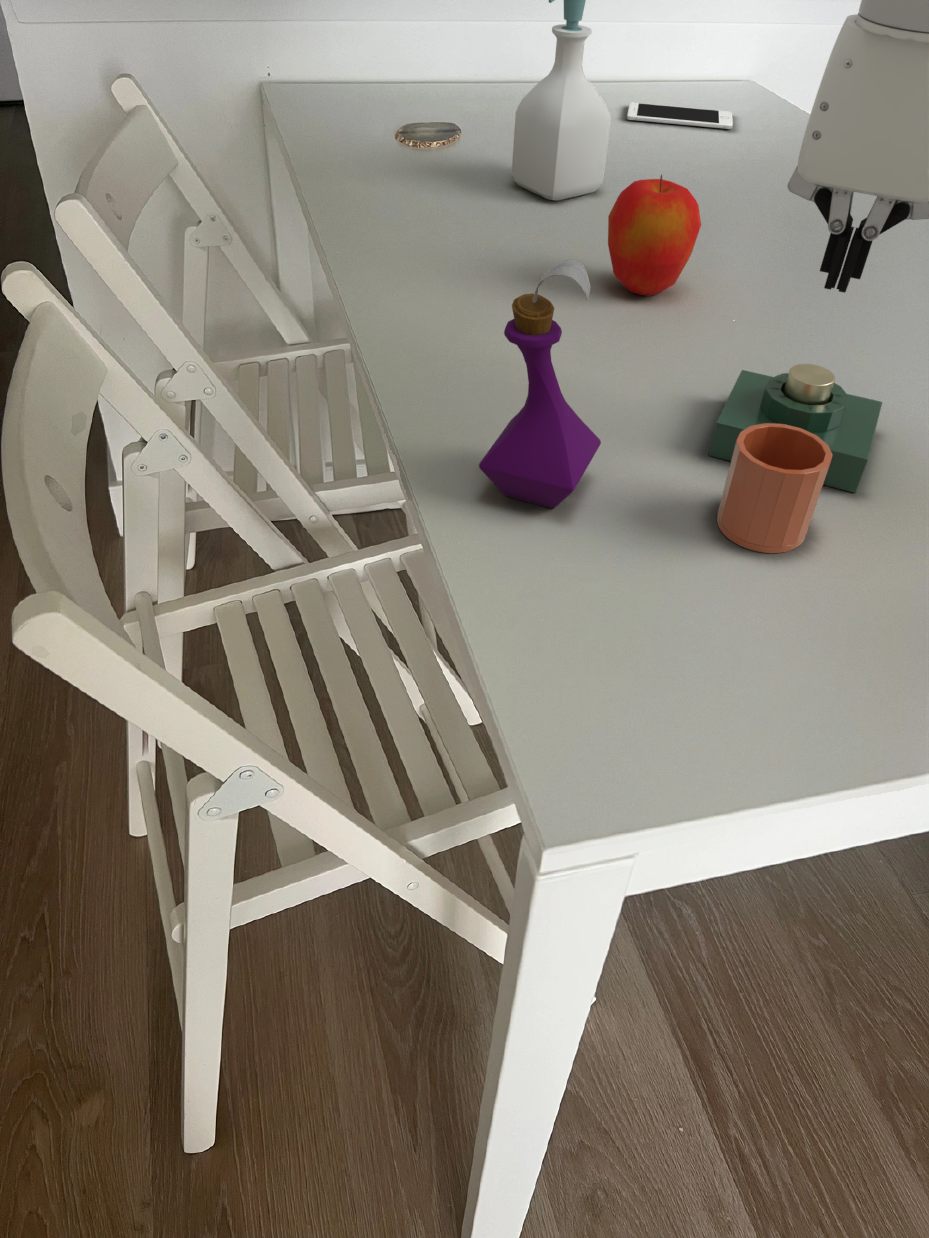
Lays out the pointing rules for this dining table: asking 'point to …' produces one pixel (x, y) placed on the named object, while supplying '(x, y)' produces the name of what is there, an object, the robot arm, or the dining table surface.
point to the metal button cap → (809, 384)
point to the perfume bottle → (541, 411)
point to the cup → (772, 487)
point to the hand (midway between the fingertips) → (837, 283)
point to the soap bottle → (562, 122)
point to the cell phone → (680, 115)
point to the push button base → (802, 423)
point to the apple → (652, 234)
